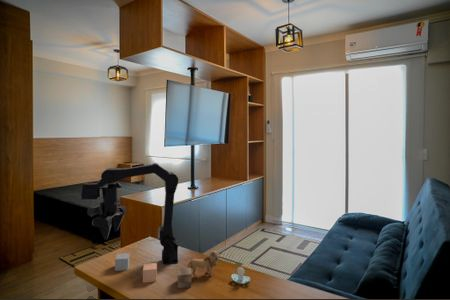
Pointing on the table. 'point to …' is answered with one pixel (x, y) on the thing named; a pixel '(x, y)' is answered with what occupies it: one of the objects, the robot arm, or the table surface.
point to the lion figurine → (204, 263)
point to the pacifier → (240, 276)
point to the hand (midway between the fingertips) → (111, 235)
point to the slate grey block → (122, 262)
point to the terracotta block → (150, 272)
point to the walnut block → (184, 277)
